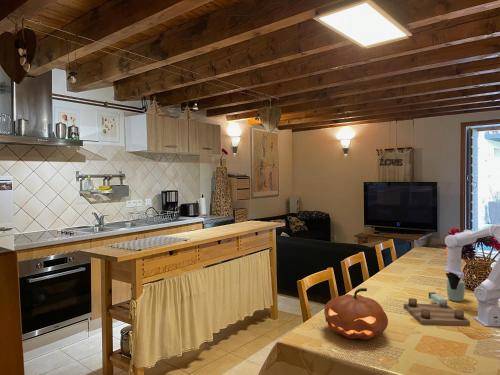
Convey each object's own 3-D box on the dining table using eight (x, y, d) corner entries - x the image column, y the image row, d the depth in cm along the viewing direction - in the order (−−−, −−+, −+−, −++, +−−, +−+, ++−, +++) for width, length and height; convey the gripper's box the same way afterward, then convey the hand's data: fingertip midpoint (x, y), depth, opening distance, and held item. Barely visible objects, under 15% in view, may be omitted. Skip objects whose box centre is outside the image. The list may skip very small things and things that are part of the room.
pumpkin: (313, 338, 141) (314, 289, 140) (334, 316, 162) (334, 274, 162) (380, 354, 128) (381, 301, 127) (393, 328, 149) (394, 283, 149)
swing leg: (448, 307, 168) (448, 301, 168) (441, 307, 168) (441, 301, 168) (434, 298, 181) (434, 292, 181) (428, 297, 181) (428, 292, 181)
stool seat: (470, 325, 153) (470, 314, 152) (421, 324, 154) (421, 313, 153) (446, 308, 173) (446, 298, 172) (403, 307, 174) (403, 297, 173)
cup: (466, 303, 179) (467, 283, 179) (449, 302, 181) (450, 282, 181) (461, 298, 187) (461, 279, 187) (444, 297, 189) (444, 278, 188)
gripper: (438, 256, 179) (437, 284, 180) (453, 264, 165) (452, 293, 165) (453, 257, 179) (452, 284, 179) (469, 264, 164) (468, 294, 165)
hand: (453, 289), depth 172 cm, fingers closed
